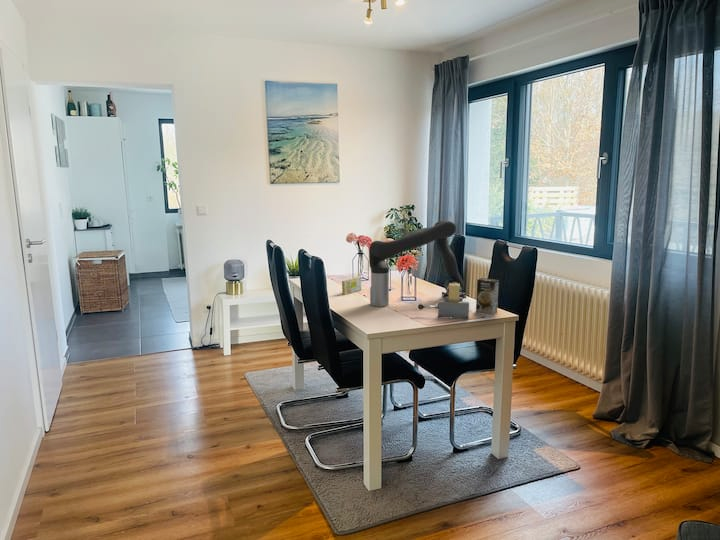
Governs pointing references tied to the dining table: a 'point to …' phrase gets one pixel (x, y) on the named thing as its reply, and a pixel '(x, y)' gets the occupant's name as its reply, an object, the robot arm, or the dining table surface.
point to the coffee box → (487, 295)
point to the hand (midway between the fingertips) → (454, 298)
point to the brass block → (454, 292)
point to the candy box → (351, 285)
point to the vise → (450, 309)
